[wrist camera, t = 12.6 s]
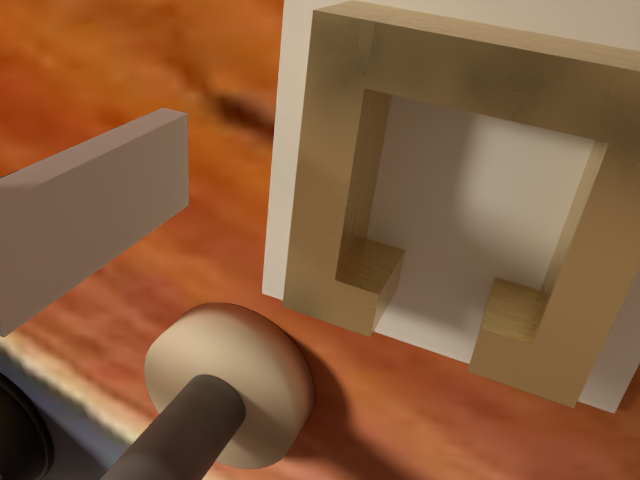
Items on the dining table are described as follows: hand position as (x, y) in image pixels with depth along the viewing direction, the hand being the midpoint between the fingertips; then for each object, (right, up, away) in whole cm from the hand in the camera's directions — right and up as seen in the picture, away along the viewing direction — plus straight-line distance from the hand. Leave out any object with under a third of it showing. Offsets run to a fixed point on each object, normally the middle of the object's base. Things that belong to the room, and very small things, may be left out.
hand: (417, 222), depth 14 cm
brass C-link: (+2, +1, +3) cm, 4 cm away
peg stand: (-6, -6, +12) cm, 15 cm away
